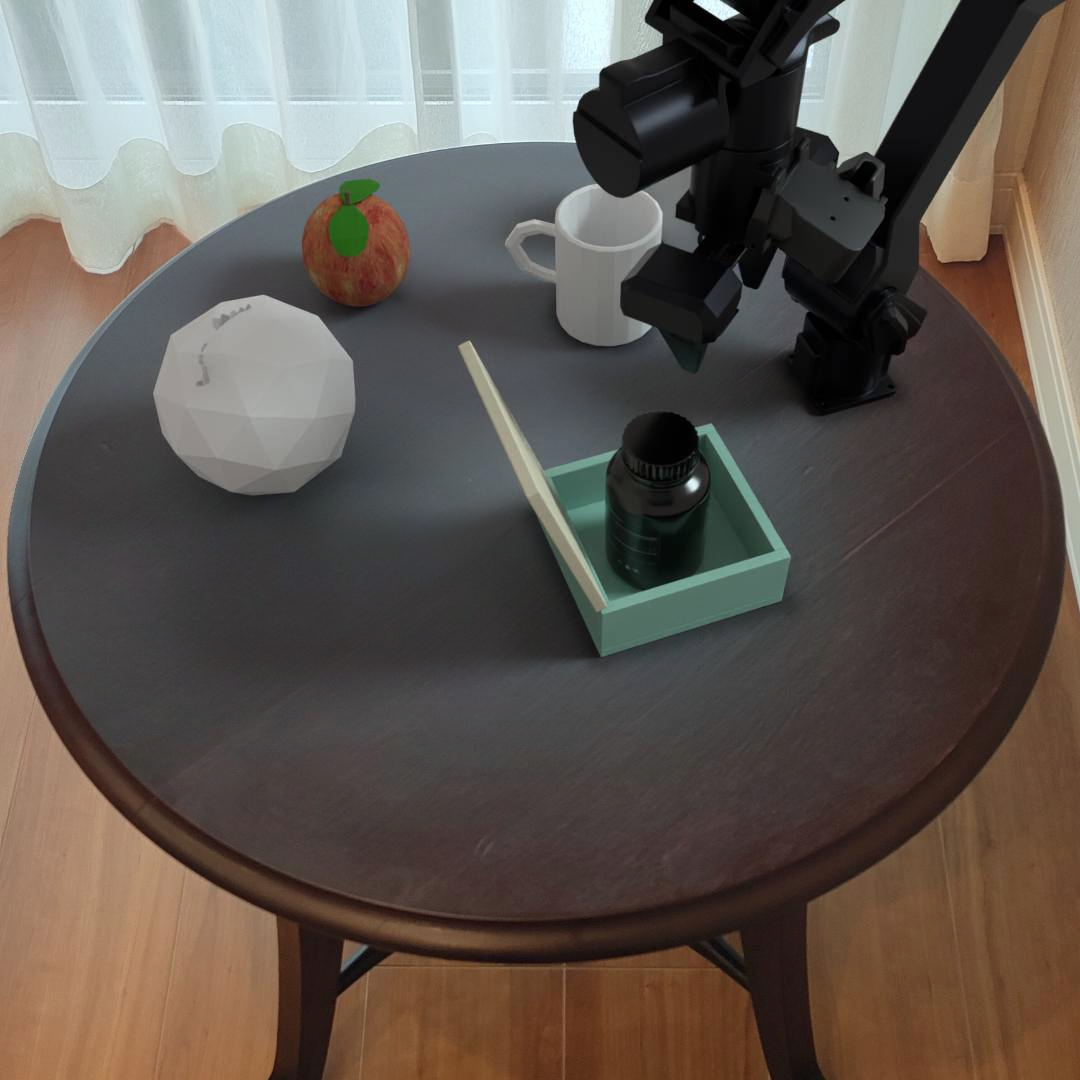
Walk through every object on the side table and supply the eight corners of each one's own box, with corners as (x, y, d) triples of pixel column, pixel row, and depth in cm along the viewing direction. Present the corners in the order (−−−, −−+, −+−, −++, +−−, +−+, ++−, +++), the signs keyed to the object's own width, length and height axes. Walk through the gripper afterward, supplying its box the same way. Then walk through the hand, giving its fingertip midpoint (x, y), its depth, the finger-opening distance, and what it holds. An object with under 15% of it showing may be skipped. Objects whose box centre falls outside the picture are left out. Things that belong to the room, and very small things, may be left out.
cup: (709, 276, 109) (719, 176, 101) (624, 244, 112) (627, 144, 104) (752, 222, 113) (766, 122, 106) (669, 192, 116) (676, 92, 108)
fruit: (295, 321, 107) (272, 222, 99) (332, 246, 113) (313, 146, 105) (397, 335, 106) (382, 236, 98) (429, 258, 111) (417, 159, 103)
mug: (513, 276, 110) (508, 178, 102) (657, 281, 109) (663, 182, 101) (504, 343, 105) (498, 246, 97) (655, 349, 104) (661, 251, 96)
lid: (469, 339, 78) (457, 345, 78) (539, 491, 71) (526, 497, 71) (540, 464, 90) (530, 470, 90) (607, 607, 82) (596, 613, 82)
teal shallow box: (706, 469, 96) (711, 422, 92) (781, 601, 89) (791, 556, 85) (537, 517, 94) (535, 471, 90) (600, 657, 86) (602, 614, 83)
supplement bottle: (638, 501, 94) (645, 381, 84) (721, 544, 91) (739, 425, 82) (584, 564, 90) (585, 447, 81) (668, 611, 88) (680, 496, 78)
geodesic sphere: (305, 538, 85) (321, 318, 82) (101, 504, 88) (108, 287, 84) (376, 491, 100) (392, 301, 96) (199, 462, 102) (208, 276, 98)
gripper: (811, 263, 67) (775, 465, 79) (940, 78, 77) (890, 284, 89) (619, 196, 71) (612, 400, 83) (765, 28, 80) (740, 233, 93)
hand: (721, 327), depth 87 cm, fingers open, 9 cm apart
